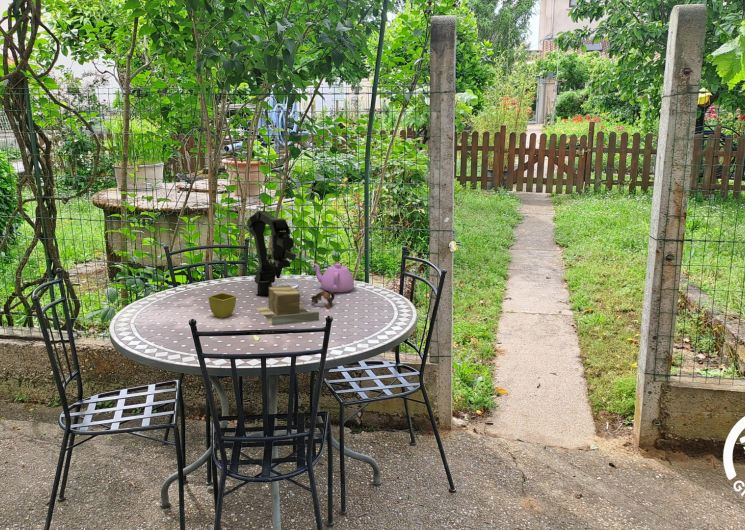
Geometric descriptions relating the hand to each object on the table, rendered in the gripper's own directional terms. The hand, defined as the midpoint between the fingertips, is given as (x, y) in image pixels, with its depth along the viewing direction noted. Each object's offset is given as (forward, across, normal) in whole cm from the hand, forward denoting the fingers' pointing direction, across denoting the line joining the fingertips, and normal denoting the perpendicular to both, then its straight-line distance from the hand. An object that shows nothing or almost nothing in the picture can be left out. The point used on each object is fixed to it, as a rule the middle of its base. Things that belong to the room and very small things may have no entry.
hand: (278, 278), depth 308 cm
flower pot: (+12, -12, +29) cm, 34 cm away
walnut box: (+12, -16, +2) cm, 19 cm away
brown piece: (+12, -11, -19) cm, 25 cm away
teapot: (+12, +14, -34) cm, 39 cm away
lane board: (+12, -19, +2) cm, 23 cm away
